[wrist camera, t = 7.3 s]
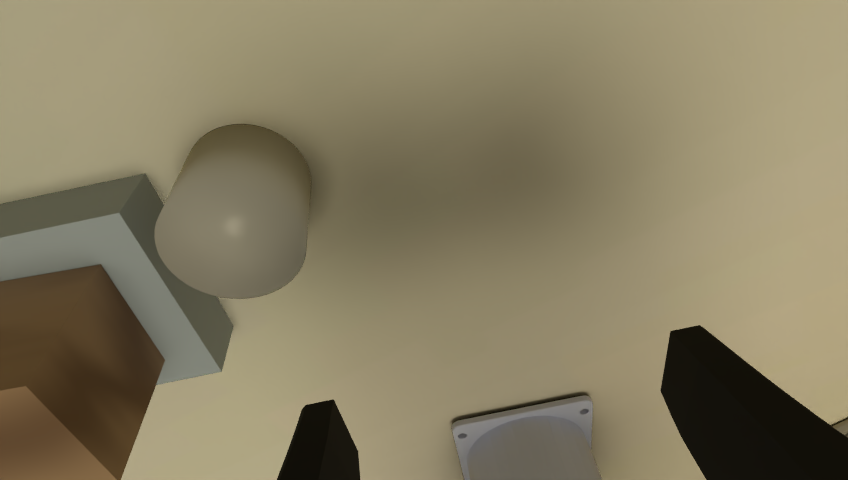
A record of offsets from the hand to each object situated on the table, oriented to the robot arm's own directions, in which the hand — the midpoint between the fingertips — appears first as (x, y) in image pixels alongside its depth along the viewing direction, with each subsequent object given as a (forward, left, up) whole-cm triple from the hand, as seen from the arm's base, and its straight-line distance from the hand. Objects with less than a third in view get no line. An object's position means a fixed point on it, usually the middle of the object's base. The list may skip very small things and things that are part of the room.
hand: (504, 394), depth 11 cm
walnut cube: (-2, +15, -8) cm, 17 cm away
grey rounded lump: (+1, +7, -10) cm, 13 cm away
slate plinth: (-2, +14, -11) cm, 18 cm away
